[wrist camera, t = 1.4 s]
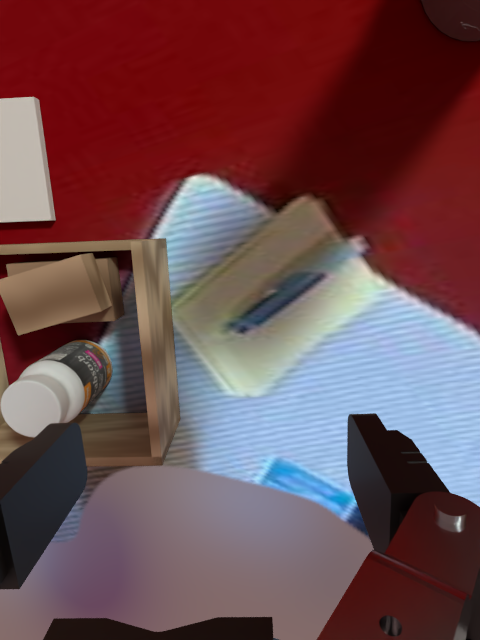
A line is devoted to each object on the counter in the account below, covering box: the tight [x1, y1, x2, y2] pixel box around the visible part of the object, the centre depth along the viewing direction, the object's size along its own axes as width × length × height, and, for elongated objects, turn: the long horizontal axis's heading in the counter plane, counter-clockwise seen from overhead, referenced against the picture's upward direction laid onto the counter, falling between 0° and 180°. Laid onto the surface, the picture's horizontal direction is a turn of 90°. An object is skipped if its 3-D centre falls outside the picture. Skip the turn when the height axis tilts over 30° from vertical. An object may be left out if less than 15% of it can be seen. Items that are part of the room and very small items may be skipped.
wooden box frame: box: [0, 238, 180, 466], centre depth 35 cm, size 18×18×8 cm
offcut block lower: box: [6, 257, 124, 323], centre depth 36 cm, size 6×9×3 cm, turn 93°
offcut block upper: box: [0, 253, 112, 335], centre depth 34 cm, size 5×8×2 cm, turn 106°
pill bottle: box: [1, 340, 113, 437], centre depth 34 cm, size 6×6×10 cm
